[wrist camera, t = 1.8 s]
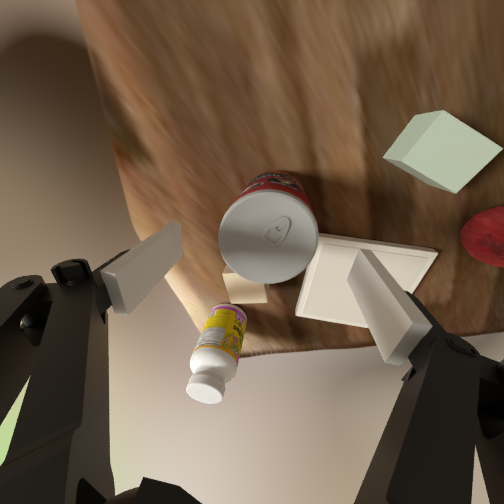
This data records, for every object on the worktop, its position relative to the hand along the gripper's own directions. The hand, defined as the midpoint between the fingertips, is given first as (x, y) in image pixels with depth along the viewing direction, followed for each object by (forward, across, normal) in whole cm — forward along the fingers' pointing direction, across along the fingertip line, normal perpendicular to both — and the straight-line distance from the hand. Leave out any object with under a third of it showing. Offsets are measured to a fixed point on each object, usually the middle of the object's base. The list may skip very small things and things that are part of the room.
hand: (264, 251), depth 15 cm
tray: (+12, +13, -9) cm, 20 cm away
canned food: (+12, 0, +1) cm, 12 cm away
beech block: (+12, -2, -9) cm, 15 cm away
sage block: (+12, +14, +8) cm, 20 cm away
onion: (+12, +22, +1) cm, 25 cm away
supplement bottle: (+12, -5, -20) cm, 24 cm away
